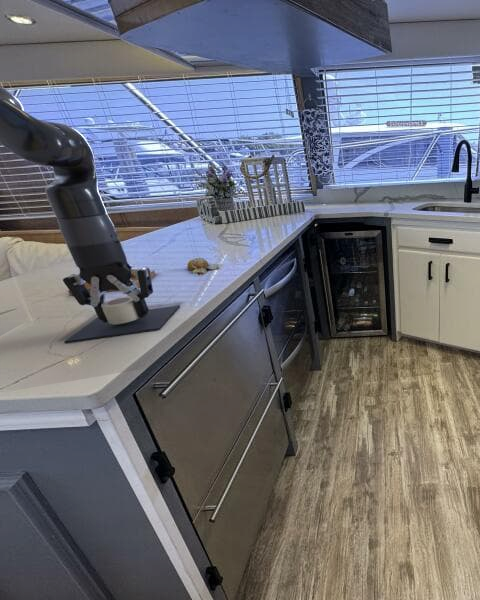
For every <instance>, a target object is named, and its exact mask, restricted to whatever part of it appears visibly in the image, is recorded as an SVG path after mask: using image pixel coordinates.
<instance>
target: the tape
mask: <svg viewBox="0 0 480 600" xmlns="http://www.w3.org/2000/svg"><path fill="white" fill-rule="evenodd" d="M133 302H134V301H133V300H132V299H131V298H130V297H129V296H128V295H123V296H119V297H115V298H111V299H109V300H106V301H104V303H102V304H101V307H102V309H103V311H104V314H105V316H106V318H107V320H108V323H109V324H123V323H127V322H131V321H134V320H136V319H138V318H139V317H138V314H137V312H136V309H135V307H134V304H133Z"/></svg>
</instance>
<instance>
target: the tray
mask: <svg viewBox="0 0 480 600" xmlns="http://www.w3.org/2000/svg"><path fill="white" fill-rule="evenodd" d="M150 276H151V279H152V278H154V277H155V276H156V272H155V270H154V269H152V270H150ZM130 279H131V280H132V281H133V282H134V283H135V284H136V285H137V287H138V288H139V289H140V285H139V280H138V279H136V277H135V275H133V274H132V276H131V278H130ZM83 284H84V285H85V287H86V288H87V290H88V291H89V293H90V291H91V285H90V284H89V283H87V282H86V281H84V283H83ZM127 287H128V286H127ZM118 291H119V292H121V290H109V291H107V292H106V293H111V292H118ZM67 292H68V294H69V296H71V297H74V296H73V294H72V293H71V292H70V290H69V289H68V290H67Z"/></svg>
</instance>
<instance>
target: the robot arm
mask: <svg viewBox="0 0 480 600" xmlns="http://www.w3.org/2000/svg"><path fill="white" fill-rule="evenodd" d="M0 145H2V146H3V147H4V148H5V149H7V150H8V152H11V153H12V154H13V155H15V156H16V157H18V158H20V159H23V160H24V161H27V162H29V163H31V164H33V165H36V166H41V167H46V168H52V172H53V178H54V180H53V182H51V183H49V184H47V185H46V186H45V189H44V192H45V196H46V198H47V201H48V203H49V205H50V207H51V209H52V212H53V213H54V216H55V218H56V220H57V223H58V226H59V230H60V233H61V235H62V238H63V240H64V242H65V245H66V247H67V248H68V251H69V253H70V255H71V257H72V259H73V262H74V264H75V266H76V267H77V268H78V269H79V273H78V274H77V273H73V274H70V275H68V276H66V277H64V278H62V282H63V283H64V285H65V286H66V287H67V289H68V290H70V292H71V293H72V294H73V296H72V297H74V300H76V302H77V303H78V304H79V306H85V305H86V306H90V307H93V309H94V311H95V314H96V315H97V317H98V318H99V319H100V320H103V322H104V323H105V322H108V320H107V318H106V316H105V314H104V311H103V309H102V307H101V304H102V303H104V302H105V300H106V293H108V292H107V291H109V290H120V292H121V293H122V294H124V295H126V296H129V297H130V298H131V299H132V300H133V301H134V302H133V304H134V307H135V309H136V312H137V314H138V317H139V318H143V317H145V316H146V315H147V313H148V311H149V309H150V308H149V306H148V304H147V302H146V299H148V297H150V296H151V295H153V293H154V287H153V282H152V278H151V276H150V271H151V270H150V268H149V267H148V266H143V267H142V268H140V267H132V266H131V265H130V264H129V263H128V260H127V255H126V253H125V251H124V248H123V245H122V243H121V240H120V238H119V234H118V232H117V230H116V227H115V225H114V223H113V221H112V220H111V218H110V217H109V214H108V213H107V212H108V211H107V209H106V207H105V205H104V202H103V199H102V197H101V194H100V193H99V188H98V174H97V168H96V161H95V156H94V152H93V150H92V147H91V146H90V144H89V142H88V140H87V139H86V137H84V136H83V134H82V133H81V132H79V131H78V130H77V129H76V128H73V127H72V126H70V125H68V124H64V123H59V122H53V121H47V120H41V119H38V118H36V117H35V116H33V115H31V114H29V113H28V112H26V111H25V110H24V106H23V104H22V103H21V102H20V100H19V99H18V97H16V96H15V95H13V94H12V93H11V92H10V91H8V90H7V89H6V88H5V87H2V86H1V85H0ZM132 274H133V275H135V277H136V279H138V280H139V285H140V287H139V288H138V287H137V285H136V284H135V283H134V282H133V281H132V280H131V279H130V278H131V276H132ZM85 281H86V282H87V283H89V284H90V285H91V291H90V293H89V291H88V290H87V288H86V287H85V285H84V284H83V283H84V282H85ZM127 286H128V287H127Z"/></svg>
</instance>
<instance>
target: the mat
mask: <svg viewBox="0 0 480 600" xmlns="http://www.w3.org/2000/svg"><path fill="white" fill-rule="evenodd" d="M180 307H181V305H179V304H178V305H169V306H163V307H154V308H148V309H149V311H148V313H147V315H146V316H145V317H143V318H138V319H136V320H134V321H131V322H127V323H123V324H109V323H108V322H105V323H104V322H103V320H100V319H99V318H98V316H97V317H95V318H94V319H93V320H91V321H90V322H88V323H87V324H86V325H84V326H83V327H82V328H80V329H79V330H77V331H76V332H74V334H72V335H70V336H69V337H68V338H67V339H65V340H64V341H63V342H64V344H69V343H76V342H82V341H83V342H84V341H89V340H97V339H105V338H110V337H111V338H113V337H118V336H125V335H133V334H139V333H147V332H153V331H159V330H161V329H162V328H163V327H164V325H165V324H166V323H167V322H168V321H169V320H170V319H171V318H172V316H173V315H174V314H175V313H177V311H178V310H179V309H180Z"/></svg>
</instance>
